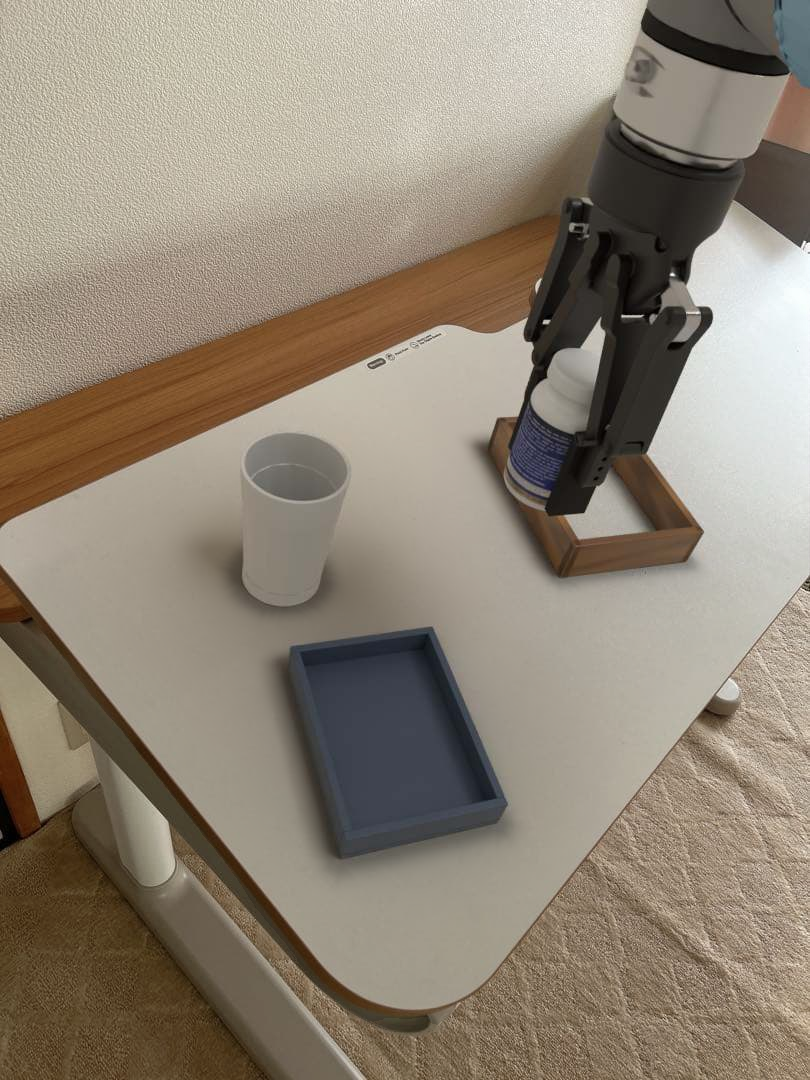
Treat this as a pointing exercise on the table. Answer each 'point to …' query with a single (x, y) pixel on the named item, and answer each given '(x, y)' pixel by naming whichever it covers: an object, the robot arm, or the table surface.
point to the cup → (289, 513)
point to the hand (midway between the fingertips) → (545, 478)
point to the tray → (392, 740)
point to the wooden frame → (620, 550)
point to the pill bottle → (551, 425)
